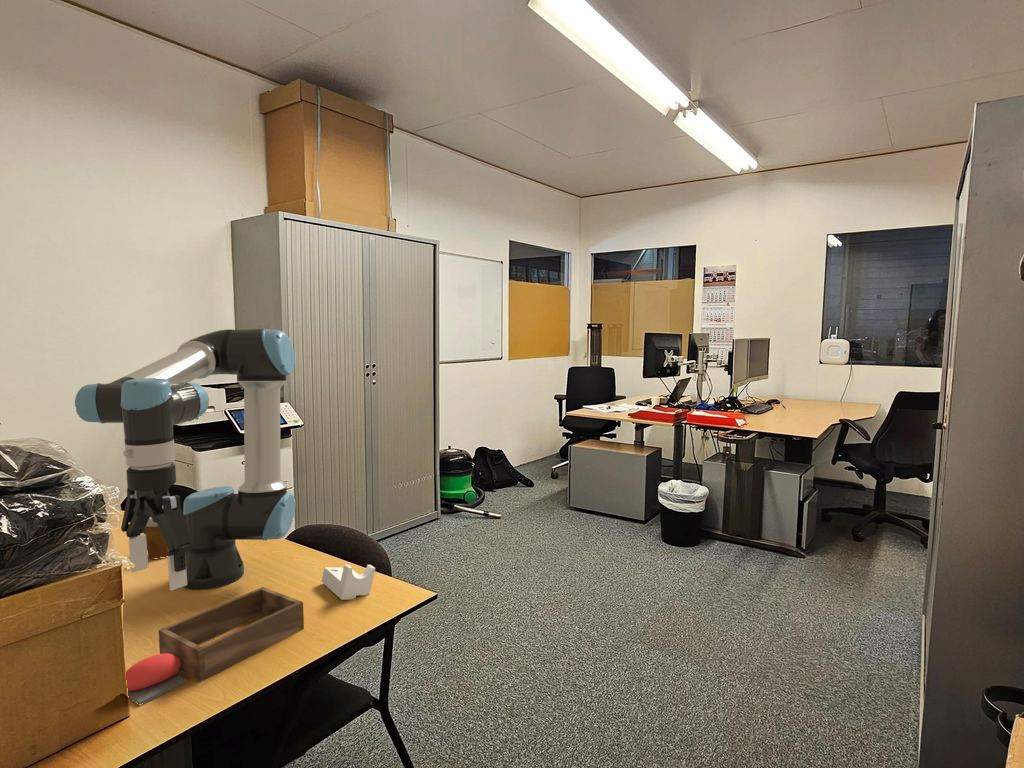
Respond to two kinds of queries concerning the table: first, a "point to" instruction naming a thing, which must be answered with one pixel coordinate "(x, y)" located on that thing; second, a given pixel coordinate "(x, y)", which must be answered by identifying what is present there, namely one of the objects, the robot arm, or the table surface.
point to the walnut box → (239, 644)
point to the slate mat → (156, 689)
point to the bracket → (348, 581)
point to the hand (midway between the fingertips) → (158, 578)
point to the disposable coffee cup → (155, 540)
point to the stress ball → (152, 671)
